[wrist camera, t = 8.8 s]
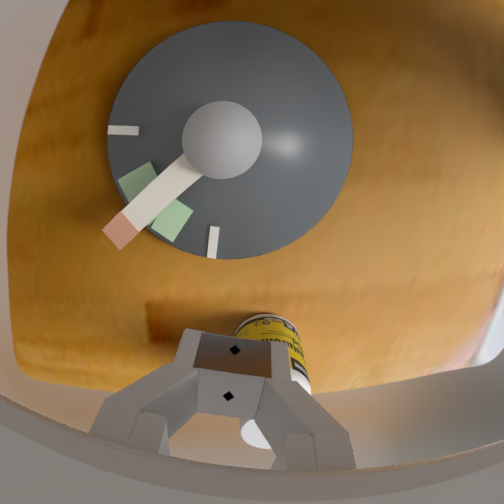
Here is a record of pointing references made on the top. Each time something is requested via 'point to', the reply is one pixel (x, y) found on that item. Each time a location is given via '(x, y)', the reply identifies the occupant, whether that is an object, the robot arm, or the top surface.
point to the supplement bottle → (285, 331)
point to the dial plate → (272, 128)
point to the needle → (194, 164)
